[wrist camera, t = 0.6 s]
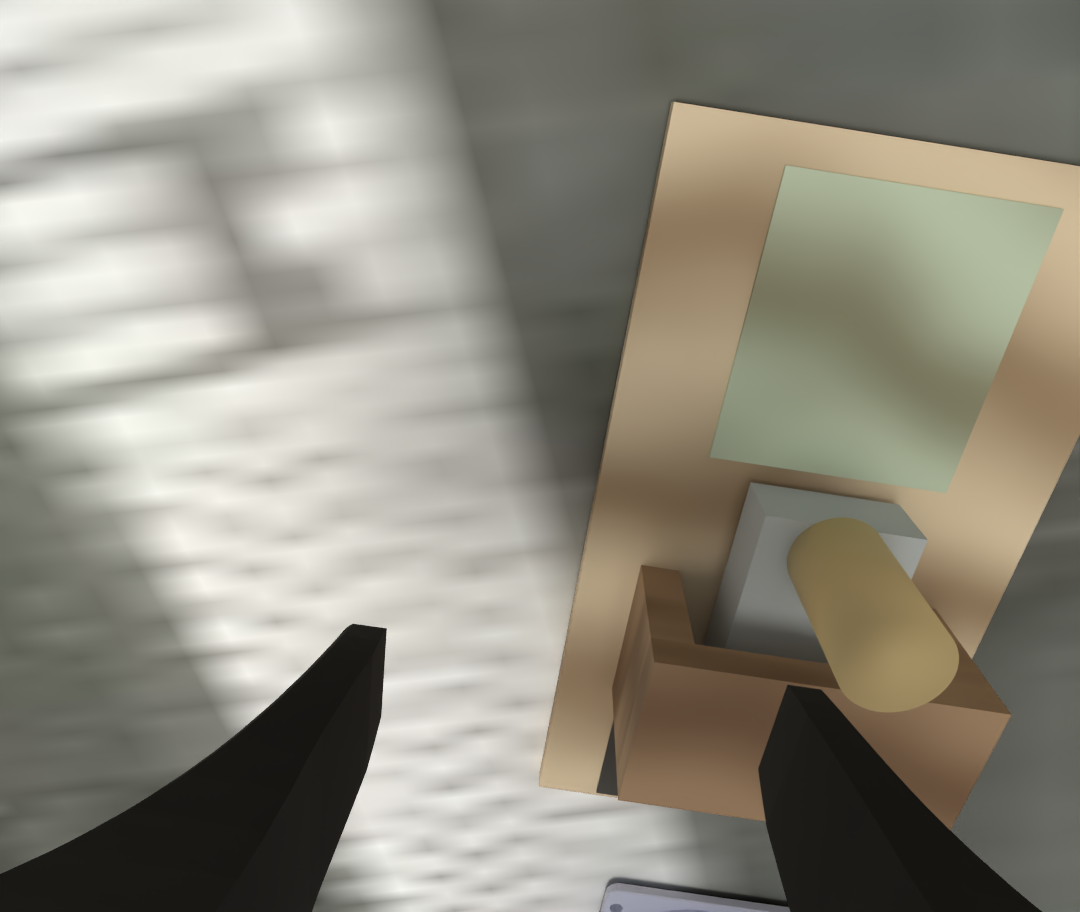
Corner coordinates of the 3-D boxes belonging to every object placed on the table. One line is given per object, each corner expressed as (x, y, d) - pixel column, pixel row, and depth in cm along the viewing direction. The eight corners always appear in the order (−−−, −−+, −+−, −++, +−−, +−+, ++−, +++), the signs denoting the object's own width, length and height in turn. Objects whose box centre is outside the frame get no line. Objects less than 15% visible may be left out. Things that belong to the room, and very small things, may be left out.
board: (880, 822, 29) (887, 838, 28) (539, 773, 28) (538, 788, 28) (1181, 183, 19) (1202, 185, 18) (671, 102, 19) (674, 101, 18)
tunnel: (883, 728, 26) (941, 846, 22) (611, 688, 26) (618, 800, 22) (936, 608, 24) (1011, 714, 20) (641, 565, 24) (654, 662, 20)
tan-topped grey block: (818, 712, 25) (889, 891, 20) (689, 693, 25) (721, 867, 20) (902, 495, 22) (1019, 634, 16) (752, 472, 22) (815, 603, 16)
